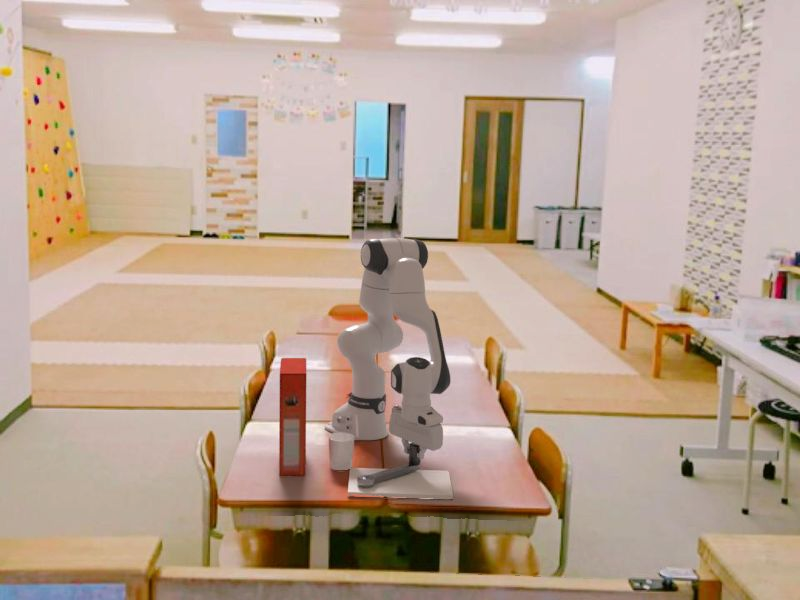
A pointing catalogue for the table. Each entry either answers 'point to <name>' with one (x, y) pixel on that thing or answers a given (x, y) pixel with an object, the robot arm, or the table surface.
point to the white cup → (341, 450)
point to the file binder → (292, 417)
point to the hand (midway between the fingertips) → (414, 455)
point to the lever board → (404, 484)
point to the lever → (392, 469)
